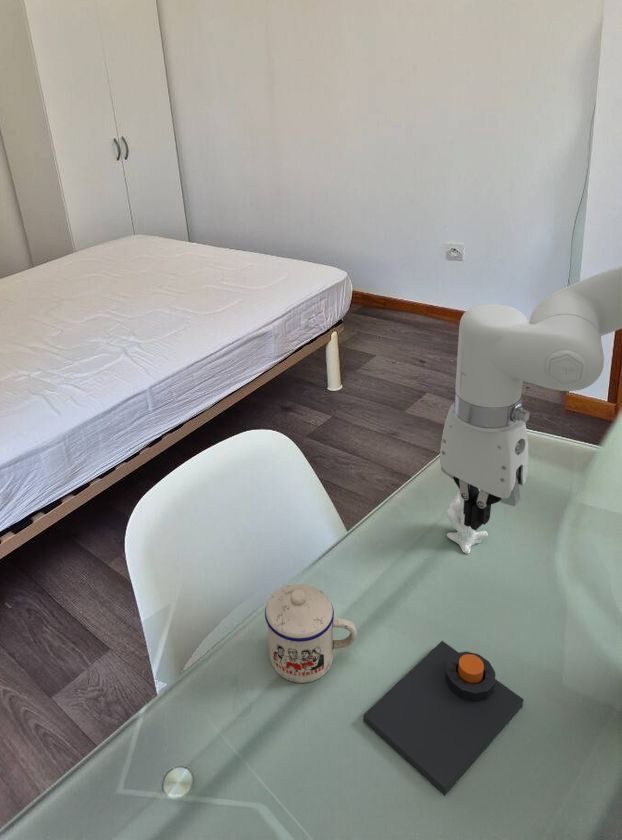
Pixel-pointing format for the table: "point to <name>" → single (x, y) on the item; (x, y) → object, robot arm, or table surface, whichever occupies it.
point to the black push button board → (442, 716)
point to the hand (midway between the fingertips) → (475, 522)
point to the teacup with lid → (303, 632)
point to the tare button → (471, 668)
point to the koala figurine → (462, 526)
